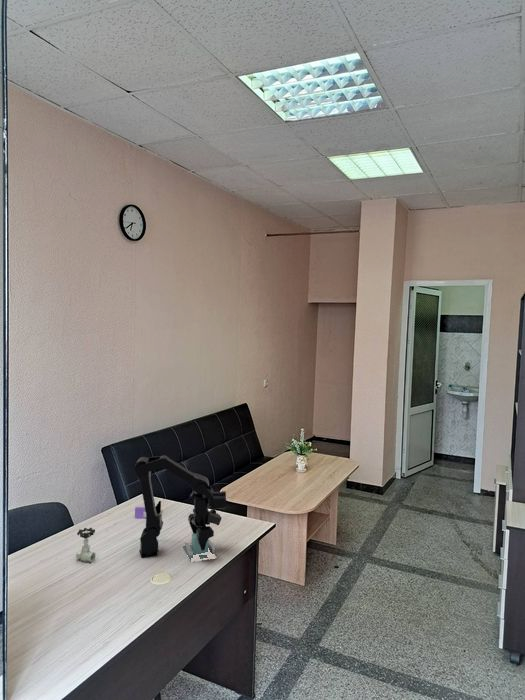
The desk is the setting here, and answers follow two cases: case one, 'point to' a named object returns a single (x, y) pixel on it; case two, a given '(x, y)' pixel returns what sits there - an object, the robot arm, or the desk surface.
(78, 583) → the desk surface
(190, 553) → the plate
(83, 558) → the valve
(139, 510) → the toy room diorama
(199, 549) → the block
